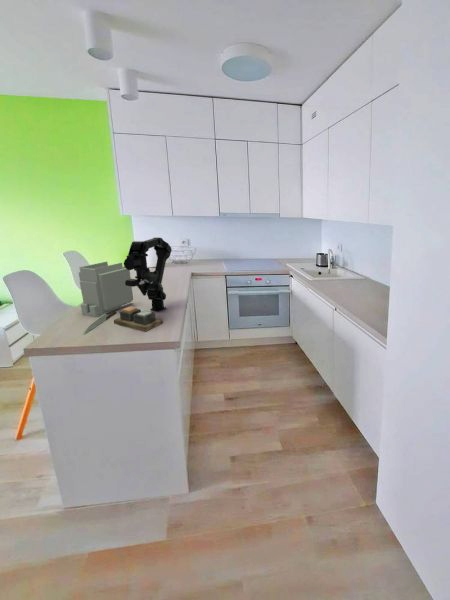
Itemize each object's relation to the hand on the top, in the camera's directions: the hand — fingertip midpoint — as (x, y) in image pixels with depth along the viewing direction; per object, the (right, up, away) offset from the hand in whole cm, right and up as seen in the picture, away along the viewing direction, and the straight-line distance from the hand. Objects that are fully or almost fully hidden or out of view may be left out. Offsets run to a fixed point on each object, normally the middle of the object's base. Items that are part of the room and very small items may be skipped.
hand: (144, 295), depth 151 cm
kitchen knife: (-22, -15, -4) cm, 26 cm away
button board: (-2, -14, -5) cm, 15 cm away
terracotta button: (-6, -11, -4) cm, 13 cm away
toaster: (-27, -7, +20) cm, 34 cm away
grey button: (+3, -13, -8) cm, 15 cm away
